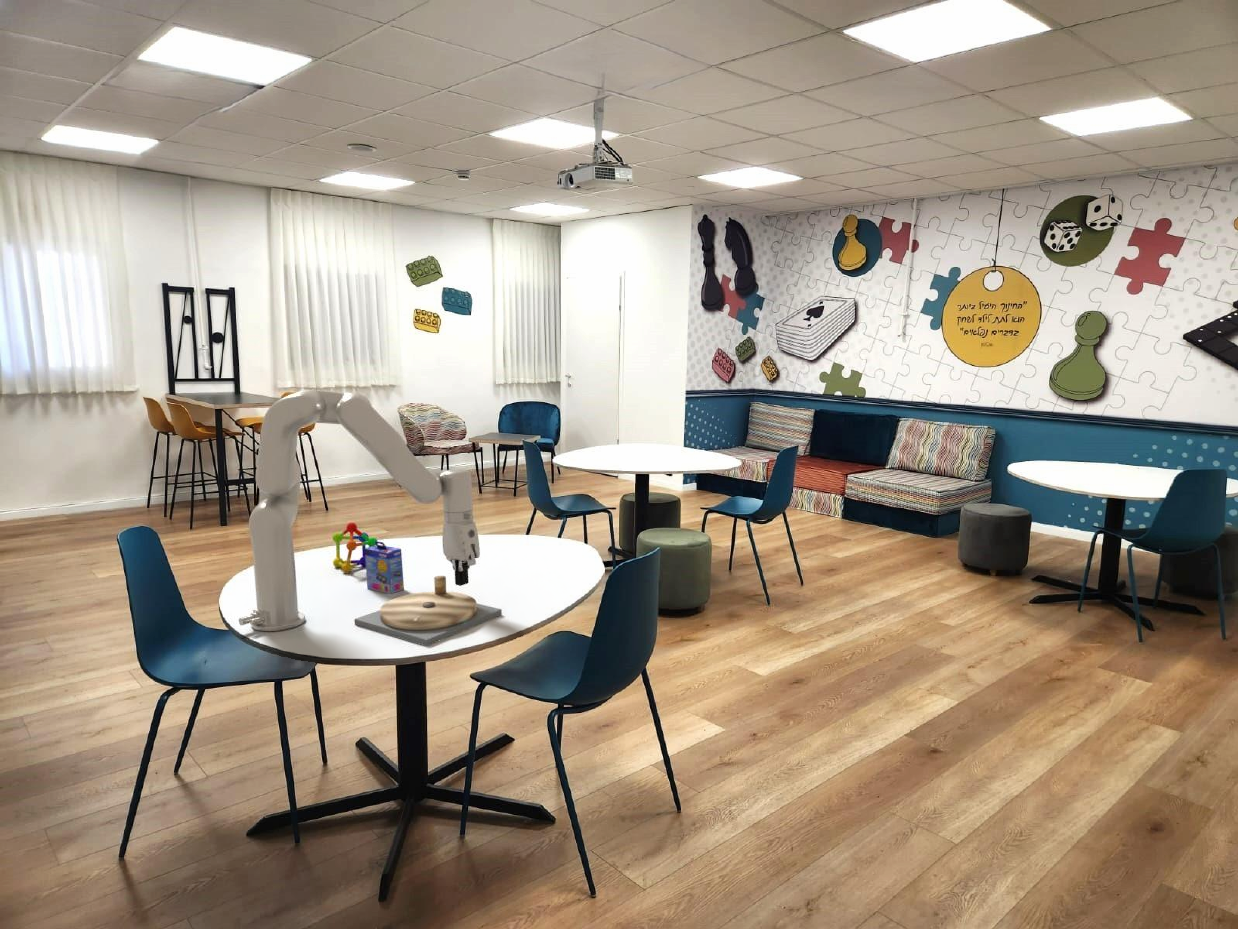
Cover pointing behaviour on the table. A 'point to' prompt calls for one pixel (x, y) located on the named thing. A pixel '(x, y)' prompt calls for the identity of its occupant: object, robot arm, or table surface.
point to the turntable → (429, 609)
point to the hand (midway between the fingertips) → (462, 584)
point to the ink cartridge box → (384, 568)
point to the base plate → (430, 635)
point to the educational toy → (351, 547)
